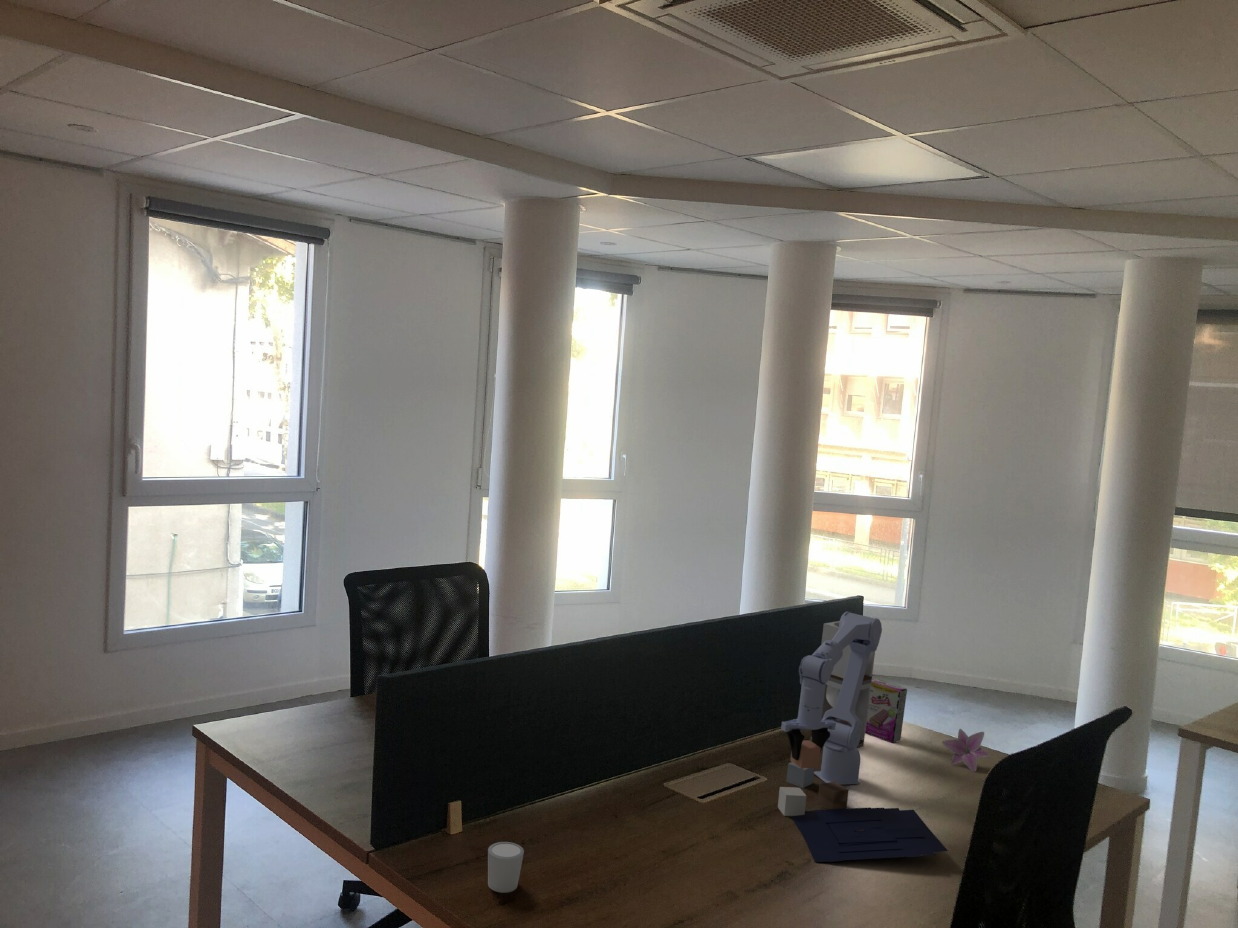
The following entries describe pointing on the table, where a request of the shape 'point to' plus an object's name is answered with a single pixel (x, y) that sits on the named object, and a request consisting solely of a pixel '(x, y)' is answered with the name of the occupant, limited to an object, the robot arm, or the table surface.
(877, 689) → the candy bar box
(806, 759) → the terracotta cube
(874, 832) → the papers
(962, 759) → the lily
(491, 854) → the grey cylinder
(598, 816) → the table surface
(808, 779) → the slate cube
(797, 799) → the offwhite cube
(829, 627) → the grey elongated piece
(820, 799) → the walnut cube
